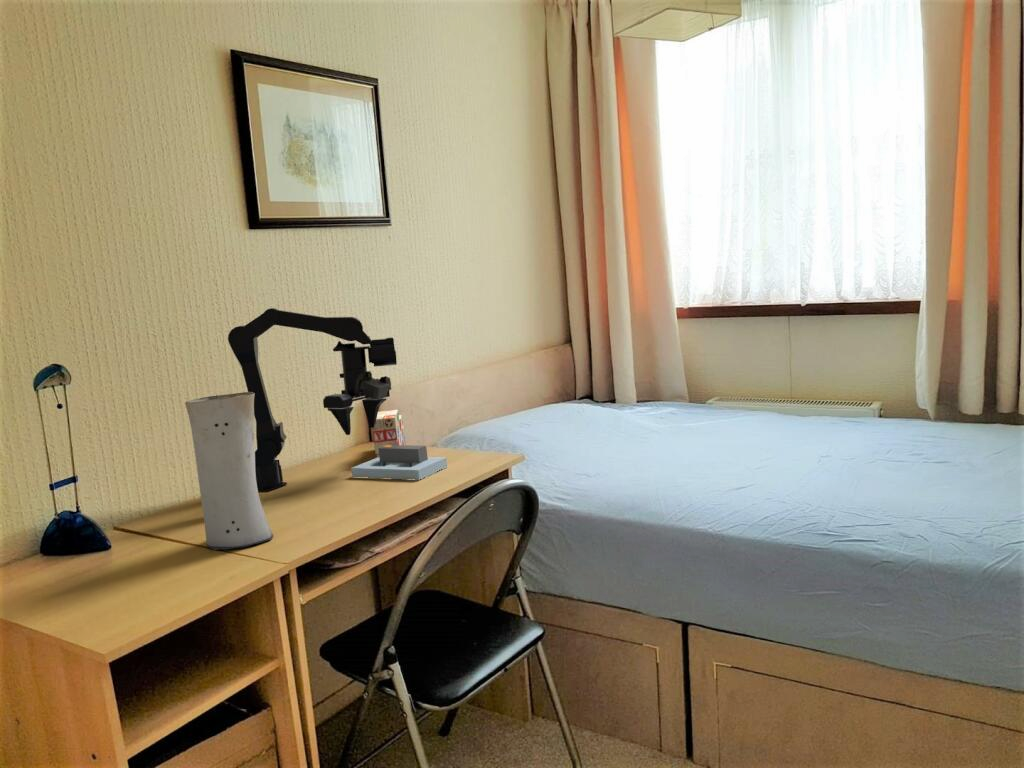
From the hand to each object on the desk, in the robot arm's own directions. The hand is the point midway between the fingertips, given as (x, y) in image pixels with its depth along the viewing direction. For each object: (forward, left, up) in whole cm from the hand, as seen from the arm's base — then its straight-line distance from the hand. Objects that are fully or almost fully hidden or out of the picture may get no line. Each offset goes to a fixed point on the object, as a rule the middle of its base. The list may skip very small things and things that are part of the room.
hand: (360, 431), depth 192 cm
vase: (-47, -8, -11) cm, 49 cm away
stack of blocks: (+20, +7, -11) cm, 23 cm away
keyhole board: (+2, -9, -11) cm, 14 cm away
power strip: (+4, -9, -11) cm, 14 cm away
